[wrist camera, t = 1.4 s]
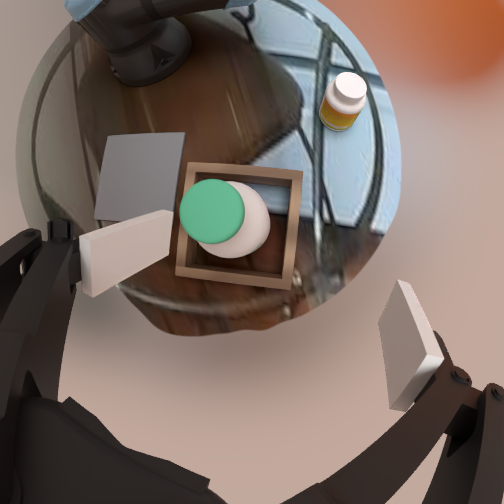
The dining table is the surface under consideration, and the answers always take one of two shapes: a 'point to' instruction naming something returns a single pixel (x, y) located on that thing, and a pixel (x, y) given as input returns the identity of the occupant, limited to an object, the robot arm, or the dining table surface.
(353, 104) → the supplement bottle
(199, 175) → the walnut crate
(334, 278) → the dining table surface
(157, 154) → the rubber mat
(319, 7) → the dining table surface
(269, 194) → the dining table surface
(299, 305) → the dining table surface
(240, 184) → the milk bottle
